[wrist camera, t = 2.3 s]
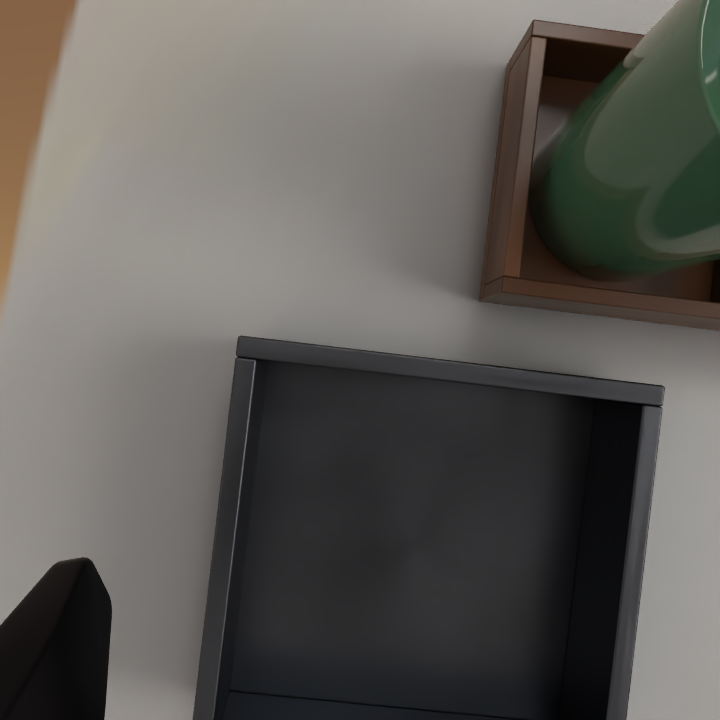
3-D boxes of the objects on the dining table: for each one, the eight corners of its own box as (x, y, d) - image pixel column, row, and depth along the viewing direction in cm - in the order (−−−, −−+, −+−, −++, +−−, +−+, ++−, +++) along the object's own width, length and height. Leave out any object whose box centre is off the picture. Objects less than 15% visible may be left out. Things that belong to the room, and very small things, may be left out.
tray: (566, 732, 23) (616, 812, 19) (212, 697, 23) (185, 772, 19) (607, 381, 23) (666, 385, 19) (255, 339, 23) (237, 335, 19)
